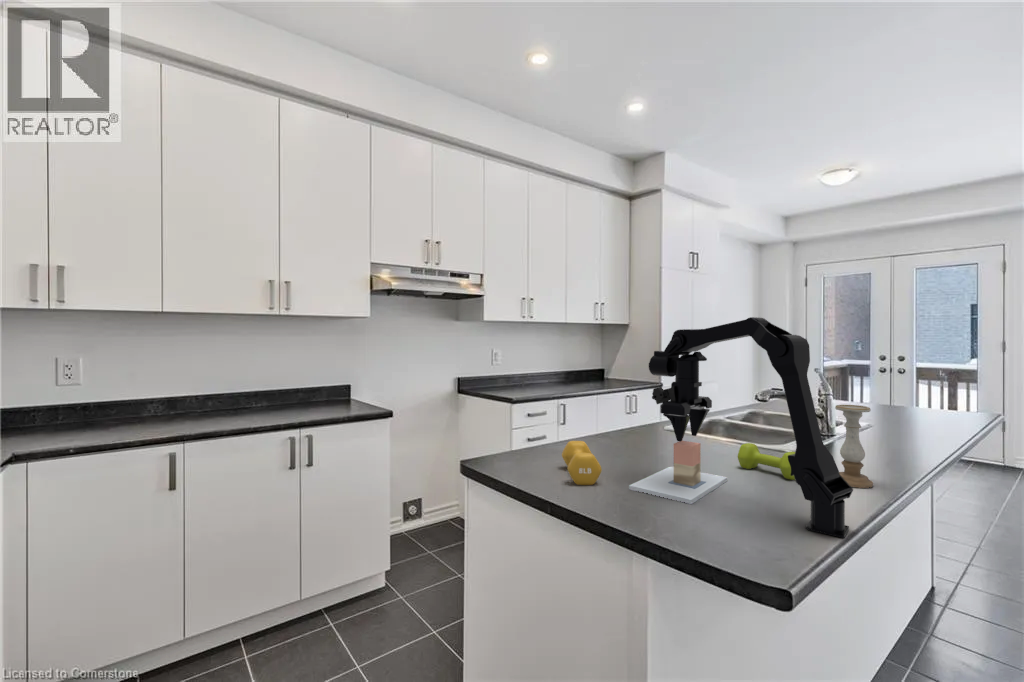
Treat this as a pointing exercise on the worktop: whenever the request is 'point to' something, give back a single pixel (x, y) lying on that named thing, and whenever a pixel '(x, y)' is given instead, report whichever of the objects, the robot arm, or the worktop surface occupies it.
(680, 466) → the maple block
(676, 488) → the blueprint board
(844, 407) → the candle holder
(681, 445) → the coral block
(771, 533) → the worktop surface
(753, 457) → the dumbbell
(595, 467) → the dumbbell
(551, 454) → the worktop surface
